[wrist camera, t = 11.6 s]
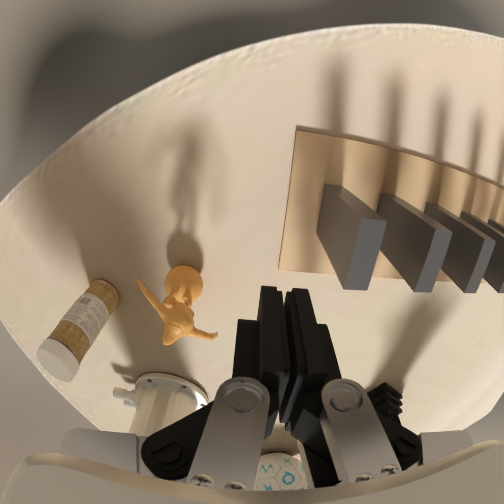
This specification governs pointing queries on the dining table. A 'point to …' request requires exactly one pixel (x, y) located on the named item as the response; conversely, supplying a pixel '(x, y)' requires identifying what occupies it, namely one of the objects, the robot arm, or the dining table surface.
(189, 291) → the figurine
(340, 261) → the domino
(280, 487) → the puzzle ball
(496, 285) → the domino
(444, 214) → the domino
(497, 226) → the domino
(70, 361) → the sprinkles bottle
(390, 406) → the chess piece
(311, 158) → the cork mat
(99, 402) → the dining table surface
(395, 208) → the domino
